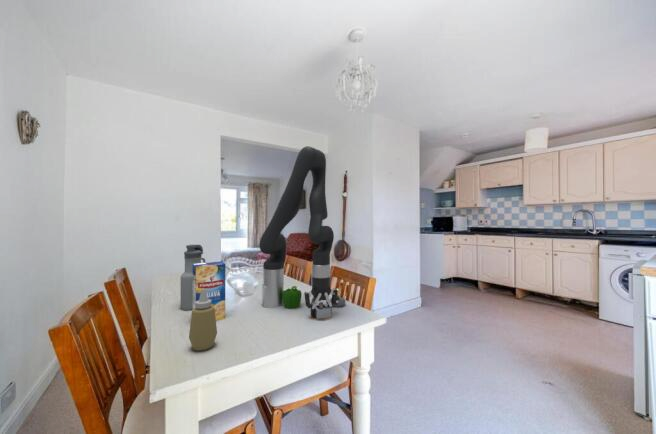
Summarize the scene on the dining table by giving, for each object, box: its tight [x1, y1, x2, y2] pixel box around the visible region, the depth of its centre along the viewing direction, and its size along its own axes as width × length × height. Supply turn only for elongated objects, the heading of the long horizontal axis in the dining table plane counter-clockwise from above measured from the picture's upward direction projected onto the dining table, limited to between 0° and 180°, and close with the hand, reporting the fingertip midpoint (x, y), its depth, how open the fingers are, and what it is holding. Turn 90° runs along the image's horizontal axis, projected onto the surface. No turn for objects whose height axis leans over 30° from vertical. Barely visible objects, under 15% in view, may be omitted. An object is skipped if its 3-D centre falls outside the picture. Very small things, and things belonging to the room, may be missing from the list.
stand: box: [309, 301, 333, 322], centre depth 108 cm, size 9×9×6 cm
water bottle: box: [180, 244, 206, 311], centre depth 120 cm, size 10×10×28 cm
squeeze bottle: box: [188, 289, 218, 352], centre depth 84 cm, size 8×8×18 cm
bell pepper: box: [282, 285, 302, 310], centre depth 119 cm, size 8×8×10 cm
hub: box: [330, 287, 346, 309], centre depth 121 cm, size 10×10×8 cm
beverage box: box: [191, 261, 226, 321], centre depth 106 cm, size 7×11×22 cm, turn 127°
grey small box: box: [314, 303, 332, 321], centre depth 108 cm, size 6×6×4 cm
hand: (321, 316), depth 108 cm, fingers closed on grey small box, 6 cm apart
